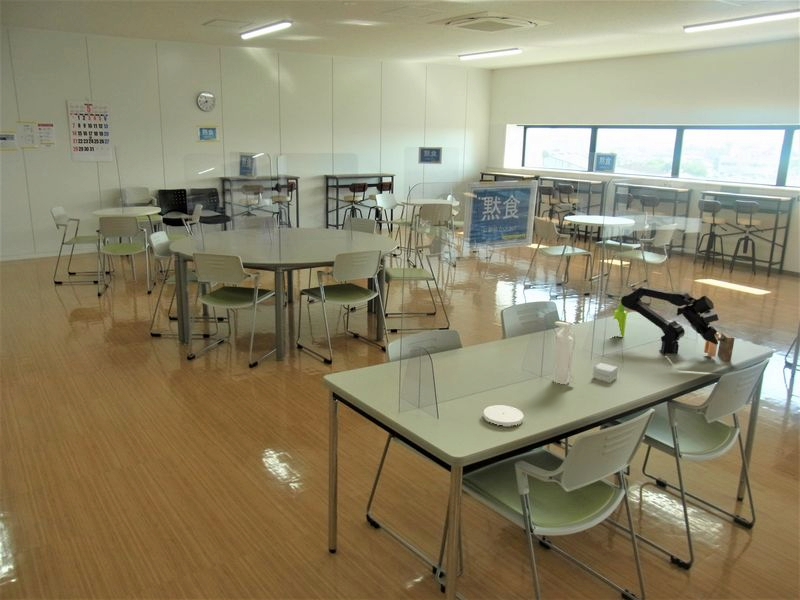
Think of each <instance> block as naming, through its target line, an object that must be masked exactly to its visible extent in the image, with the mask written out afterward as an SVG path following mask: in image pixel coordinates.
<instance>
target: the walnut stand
mask: <svg viewBox="0 0 800 600" xmlns="http://www.w3.org/2000/svg"><path fill="white" fill-rule="evenodd" d="M735 339H736V338H735V337H734V336H733V335H731V334H730V333H729V332H720V336H719V337H718V350H717V356H718V357H719V358H720V359H721V360H722V361H723V362H731V361H732V356H733V350H734V346H735V345H734V344H735Z"/></svg>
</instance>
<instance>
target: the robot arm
mask: <svg viewBox="0 0 800 600" xmlns="http://www.w3.org/2000/svg"><path fill="white" fill-rule="evenodd" d="M643 297H648V298H651V299H652V298H653V299H658V300H662V301H666V302H668V303H670V304H671V305H674V306H677V311H676V316H680V315H682V316H683V317H684V319H686V321H687V323H689V324H690V327H691V328H692V329H693V330H694V331H695V332H696V333H697V334H699V335H700V337H701V338H702V339H703V340H704V341H706V340H707V341H710V342H712V343H714V344H716V345H717V346H718V345H719V341H718V342H717V340H716V337H715V334H716V333H717V332H718V331H717V329H716V328H714V327H713V326H709V325H710V323H713V322H717V321H719V319H720V318H719V317H718V313H717V312H716V311H714V310H713V309H714V308H715V306H714V302H713V301H712V300H711V299H710V298H709V297H707V295H703V296H701V297H699V298H698V299H697V298H696V297H693V296H691V295H690V294H689V293H688V292H685V291H675V292H674V291H667V290H662V289H657V288H652V287H649V286H645V285H643V286H641V287H638V288H637V289H636V290H634V291H632V292H631V293H628V294H626V295H624V296H622V297H621V298H622V299H621V304H622V305H623V306H624V307H625V309H626V308H627V309H628V310H631V311H634V312H637V313H638V314H640V315H641V316H643V317H644V318H646V319H647V320H648V321H649V322H651V323H652V324H654V325H655V326H656V327H658V328H659V329H661V331H662V333H663V335H662V336H661V337H660V340H661V345H660V346H661V347H660V349H659V352H660V353H661V354H662V355H663V356H667V354H670V355H673V354H677V353H679V347H680V345H679V341H680V339H681V338H683V337H684V335H685V333H686V331H685V328H684V327H683V325H682V324H680V323H678V322H677V321H675V320H672V321H668V320H667V319H665V318H664V317H663V316H661V315H660V314H658V313H656V312H655V311H654V310H652V309H651V308H649V307H648V306H647V305H645V304H644V303H643V300H642V298H643Z"/></svg>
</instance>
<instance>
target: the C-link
mask: <svg viewBox="0 0 800 600" xmlns="http://www.w3.org/2000/svg"><path fill="white" fill-rule="evenodd" d="M715 337H716V340H717V342H718V343H719V341H718V337H720V333H719V332H718V331H717V333H716V334H715ZM704 343H705V344H704V348H703V353H704V354H707V357H714V358H715V357H716V353H717V348H718V344H717V345H716V344H714V343H712V342H710V341H707V340H705V342H704Z"/></svg>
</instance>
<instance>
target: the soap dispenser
mask: <svg viewBox="0 0 800 600" xmlns="http://www.w3.org/2000/svg"><path fill="white" fill-rule="evenodd" d="M621 299H622V297H618V300H619V303H618V304H617V309H615V310H614V311H613V312H614V314H613V320H614V319H617V320H618V322H619V327H620V331H621V335H622V337H623V336H624V337H625V331H626V323H627V322H626V321H627V315H628V314H627V313H628V311H626V310H625V309H626V307H624V306H623V305H622V304H621ZM624 337H623V338H624Z"/></svg>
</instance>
